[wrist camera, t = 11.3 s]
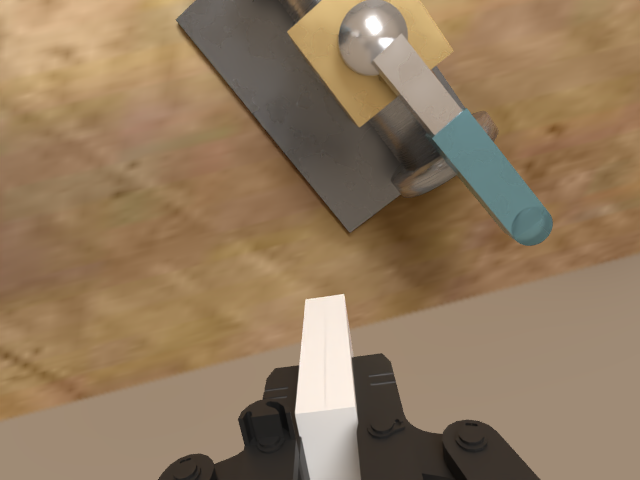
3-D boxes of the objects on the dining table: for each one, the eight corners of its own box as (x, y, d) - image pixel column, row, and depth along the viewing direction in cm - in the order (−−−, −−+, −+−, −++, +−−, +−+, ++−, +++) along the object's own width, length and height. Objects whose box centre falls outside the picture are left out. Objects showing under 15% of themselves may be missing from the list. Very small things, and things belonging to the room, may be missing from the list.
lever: (497, 245, 34) (516, 261, 30) (324, 39, 30) (324, 30, 26) (546, 207, 33) (571, 219, 29) (374, -12, 29) (381, -27, 25)
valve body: (178, 21, 38) (130, -5, 29) (313, -111, 35) (309, -187, 26) (349, 231, 43) (355, 265, 34) (479, 132, 40) (524, 141, 31)
